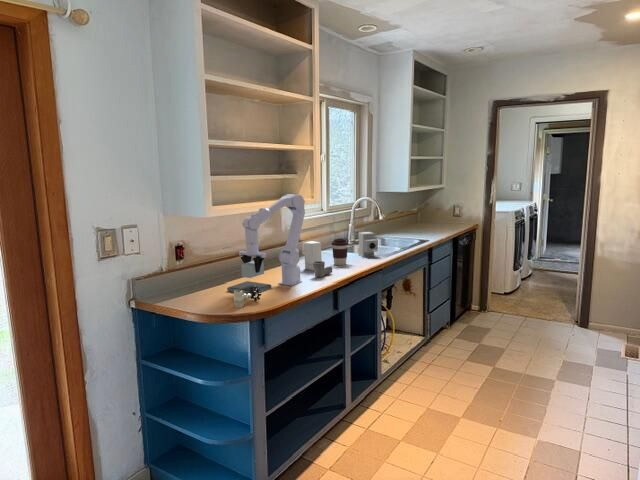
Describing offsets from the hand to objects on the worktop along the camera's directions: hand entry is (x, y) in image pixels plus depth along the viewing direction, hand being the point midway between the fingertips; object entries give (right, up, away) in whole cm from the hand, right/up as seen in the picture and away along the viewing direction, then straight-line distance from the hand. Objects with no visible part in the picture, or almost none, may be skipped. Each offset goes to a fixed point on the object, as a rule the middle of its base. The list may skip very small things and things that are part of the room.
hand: (253, 271), depth 206 cm
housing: (0, -2, 0) cm, 2 cm away
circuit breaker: (+63, +4, +80) cm, 102 cm away
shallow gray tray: (-2, -9, +2) cm, 9 cm away
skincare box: (+27, -2, +45) cm, 52 cm away
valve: (0, -12, -20) cm, 24 cm away
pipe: (+32, -5, +28) cm, 43 cm away
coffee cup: (+43, 0, +57) cm, 72 cm away
